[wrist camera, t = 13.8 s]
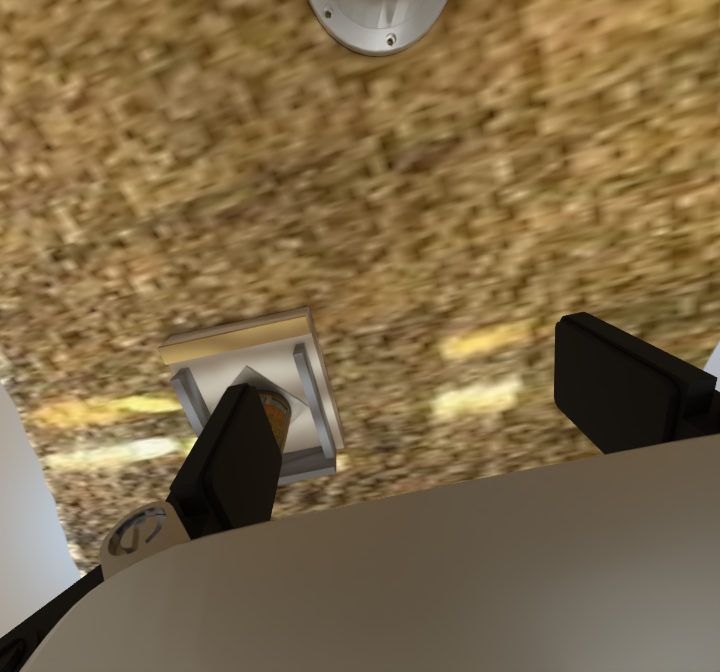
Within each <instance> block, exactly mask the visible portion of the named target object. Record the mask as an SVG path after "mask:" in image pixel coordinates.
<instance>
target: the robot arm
mask: <svg viewBox="0 0 720 672" xmlns="http://www.w3.org/2000/svg"><path fill="white" fill-rule="evenodd" d="M446 2H447V0H309V3H310V6H311V7H312V9H313V11H314V13H315V15H316V16H317V18H318V20H319V22H320V23H321V24H322V25H323V27H324V28H325V29H326V30H327V32H328V33H329V34H330V35H331V36H332V37H333V38H335V39H336V40H337V41H338V42H339V43H340V44H342V45H343V46H345V47H347V48H349V49H350V50H352V51H354V52H357V53H361V54H364V55H368V56H386V55H391V54H396V53H398V52H400V51H403V50H405V49H407V48H409V47H410V46H412V45H413V44H415V43H416V42H417V41H419V40H420V39H421V38H422V37H423V36H424V35H425V34H426V33H427V32H428V31H429V30H430V29H431V27H432V26H433V24H434V23H435V21H436V20H437V18H438V17H439V15H440V14H441V12H442V10H443V8H444V6H445V4H446ZM327 13H330V14H331V18H326V17H325V15H326V14H327ZM388 40H391V41H392V43H393V45H391V46H389V45H388V44H387V41H388ZM716 381H717V377H715V376H713V375H711V374H709V373H707V372H705V371H703V370H701V369H699V368H697V367H695V366H693V365H691V364H689V363H687V362H685V361H683V360H681V359H679V358H677V357H675V356H673V355H671V354H669V353H667V352H665V351H663V350H661V349H659V348H657V347H655V346H653V345H651V344H649V343H647V342H645V341H643V340H641V339H639V338H637V337H635V336H633V335H631V334H629V333H627V332H625V331H623V330H621V329H619V328H617V327H615V326H613V325H611V324H609V323H606V322H604V321H602V320H600V319H598V318H596V317H594V316H592V315H590V314H588V313H586V312H580V313H575V314H570V315H566V316H563V317H562V318H561V320H560V322H557V323H556V326H555V367H554V400H555V403H556V405H557V407H558V408H559V409H560V410H561V411H562V412H563V413H564V414H565V415H566V416H567V417H568V418H569V419H570V420H571V421H572V422H573V423H574V424H575V425H576V426H577V427H578V428H579V429H580V430H581V431H582V432H583V433H584V434H585V435H586V436H587V437H588V438H589V439H590V440H591V441H592V442H593V443H594V444H595V445H596V446H597V447H598V448H599V449H600V450H601V451H602V452H603V453H604V454H605V455H600V456H594V457H589V458H584V459H579V460H574V461H568V462H563V463H558V464H553V465H548V466H543V467H538V468H533V469H527V470H522V471H517V472H512V473H507V474H502V475H497V476H492V477H486V478H481V479H476V480H471V481H466V482H461V483H456V484H451V485H446V486H441V487H436V488H431V489H426V490H421V491H416V492H411V493H406V494H401V495H396V496H391V497H386V498H380V499H375V500H370V501H365V502H360V503H356V504H351V505H346V506H341V507H336V508H331V509H326V510H321V511H316V512H311V513H306V514H301V515H296V516H291V517H286V518H281V519H277V520H272V521H270V518H271V513H272V509H273V504H274V499H275V494H276V490H277V485H278V480H279V476H280V471H281V466H282V455H281V451H280V448H279V446H278V443H277V441H276V438H275V435H274V433H273V430H272V428H271V425H270V422H269V420H268V417H267V415H266V412H265V409H264V407H263V404H262V401H261V399H260V396H259V394H258V391H257V389H256V387H255V386H250V385H249V384H248V383H242V384H238V385H233V386H228V387H227V389H226V390H225V392H224V394H223V395H222V397H221V399H220V401H219V402H218V404H217V406H216V408H215V409H214V411H213V413H212V415H211V416H210V418H209V420H208V422H207V423H206V425H205V427H204V429H203V430H202V432H201V434H200V436H199V437H198V439H197V441H196V443H195V444H194V446H193V448H192V450H191V451H190V453H189V455H188V457H187V458H186V460H185V462H184V464H183V465H182V467H181V469H180V471H179V472H178V474H177V476H176V478H175V479H174V481H173V483H172V484H171V486H170V488H169V489H170V490H171V492H170V494H169V496H168V497H167V499H166V501H165V502H164V501H158V502H152V503H149V504H146V505H143V506H141V507H139V508H138V509H136V510H134V511H132V512H131V513H129V514H128V515H127V516H125V517H124V518H123V519H121V520H120V521H119V522H118V523H117V524H116V525H115V526H114V527H113V528H112V529H111V530H110V532H109V533H108V534H107V536H106V537H105V538H104V540H103V542H102V545H101V547H100V554H99V557H100V562H101V564H100V565H99V566H97V567H96V568H95V569H93V570H92V571H91V572H89V573H88V574H87V575H85V576H84V577H82V578H81V579H80V580H78V581H77V582H76V583H74V584H73V585H72V586H70V587H69V588H68V589H66V590H65V591H64V592H62V593H61V594H60V595H58V596H57V597H56V598H54V599H53V600H52V601H50V602H49V603H47V604H46V605H45V606H44V607H42V608H41V609H39V610H38V611H37V612H35V613H34V614H33V615H32V616H30V617H29V618H27V619H26V620H25V621H23V622H22V623H21V624H19V625H18V626H17V627H15V628H14V629H12V630H11V631H10V632H8V634H6V635H4V636H3V637H2V638H0V672H720V392H719V391H717V390H715V386H716Z"/></svg>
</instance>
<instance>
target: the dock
mask: <svg viewBox="0 0 720 672" xmlns="http://www.w3.org/2000/svg"><path fill="white" fill-rule="evenodd" d="M158 350H159V352H160V354H161V356H162V358H163V360H164V362H165V364H166V365H167V364H168V365H169V367H170V369H171V371H172V373H173V375H174V376H173V378H172V379H171V380H170V382H171V384H172V386H173V388H174V390H175V392H176V394H177V396H178V398H179V400H180V402H181V405H182V407H183V409H184V411H185V413H186V415H187V417H188V419H189V421H190V423H191V425H192V427H193V429H194V431H195V433H196V435H197V437H199V436H200V434H201V432H202V430H203V429H204V427H205V425H206V423H207V422H208V420H209V418H210V416H211V415H212V413H213V410H212V409H211V408H212V407H213V406H214V404H215V403H216V402H217V401H218V400H219V398H220V397H221V396H222V395H223V393H224V392H225V390H226V389H227V387H228V386H230V385H231V384H232V383H233V381H234V380H235V379H236V378H237V377H238V375H239V374H240V373H241V372H242V371H243V369H244V368H245V367H246V366H247V367H248V368H250V369H251V370H252V371H254V372H256V373H257V374H259V375H261V376H262V377H264V378H265V379H267V380H268V381H270V382H271V383H272V384H274V385H276V386H278V387H279V388H281V389H283V390H284V391H286V392H287V393H289V394H290V395H292V396H293V397H295V398H296V399H298V400H299V401H301V402H302V403H304V404H305V405H307V406H308V407H307V408H306V409H305V411H304V412H303V413H302V414H301V415H300V416H299V417H298V418H297V419H296V420H295V421H294V422H293V423H292V424H291V425H290V426H289V429H288V434H287V438H286V442H285V447H284V451H283V458H282V466H281V471H280V476H279V480H278V485H281V484H286V483H291V482H296V481H301V480H306V479H311V478H316V477H321V476H326V475H331V474H336V449H340V448H344V430H343V427H342V423H341V420H340V416H339V413H338V409H337V405H336V402H335V398H334V395H333V391H332V388H331V384H330V381H329V377H328V373H327V370H326V366H325V363H324V359H323V356H322V352H321V349H320V345H319V341H318V338H317V334H316V331H315V327H314V324H313V320H312V317H311V313H310V309H309V306H307V307H303V308H298V309H293V310H289V311H284V312H280V313H275V314H270V315H266V316H261V317H256V318H252V319H247V320H243V321H238V322H233V323H229V324H224V325H219V326H215V327H210V328H206V329H201V330H196V331H192V332H187V333H183V334H178V335H173V336H171V337H170V338H169V339H168V340H167V341H166V342H164V343H163V344H162V345H161V346H160V347H159V348H158Z"/></svg>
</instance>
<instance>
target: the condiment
mask: <svg viewBox="0 0 720 672" xmlns="http://www.w3.org/2000/svg"><path fill="white" fill-rule="evenodd" d="M242 383H248V384H249V385H250V386H255V387H256V389H257V391H258V394H259V396H260V399H261V401H262V404H263V407H264V409H265V412H266V415H267V417H268V420H269V422H270V425H271V428H272V430H273V433H274V435H275V438H276V441H277V443H278V446H279V448H280V451H281V455H282V458H283V451H284V447H285V442H286V438H287V434H288V429H289V426H290V425H291V424H292V423H293V422H294V421H295V420H296V419H297V418H298V417H299V416H300V415H301V414H302V413H303V412H304V411H305V409H306V408H307V407H308V406H307V405H305V404H304V403H302V402H301V401H299V400H298V399H296V398H295V397H293V396H292V395H290V394H289V393H287V392H286V391H284V390H283V389H281V388H279V387H278V386H276V385H274V384H272V383H271V382H270V381H268V380H267V379H265V378H264V377H262V376H261V375H259V374H257V373H256V372H254V371H252V370H251V369H250V368H248V367H247V366H246V367H245V368H244V369H243V371H242V372H241V373H240V374H239V375H238V377H237V378H236V379H235V380H234V381H233V383H232V384H231V385H230V386H233V385H238V384H242ZM223 394H224V393H223ZM221 397H222V396H221ZM221 397H220V398H219V400H218V401H217V402H216V403H215V404H214V406H213V407H212V408H211V409H212V410H213V411H214V409H215V408H216V406H217V404H218V402H219V401H220V399H221Z"/></svg>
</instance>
